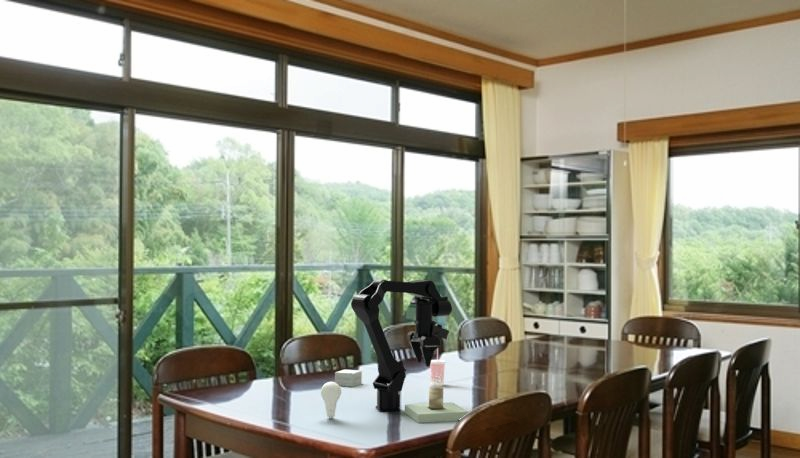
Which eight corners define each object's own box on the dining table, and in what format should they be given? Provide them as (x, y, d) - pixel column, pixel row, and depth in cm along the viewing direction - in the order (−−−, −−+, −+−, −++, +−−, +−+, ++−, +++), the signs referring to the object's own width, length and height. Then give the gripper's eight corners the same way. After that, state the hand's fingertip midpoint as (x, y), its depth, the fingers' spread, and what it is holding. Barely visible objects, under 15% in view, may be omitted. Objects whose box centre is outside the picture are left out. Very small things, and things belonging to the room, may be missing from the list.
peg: (431, 418, 227) (431, 389, 228) (426, 415, 232) (426, 386, 232) (445, 417, 229) (445, 388, 229) (440, 414, 233) (440, 386, 233)
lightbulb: (317, 419, 224) (317, 382, 225) (326, 415, 230) (326, 379, 230) (335, 421, 222) (335, 384, 222) (344, 417, 228) (344, 380, 228)
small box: (343, 382, 288) (343, 369, 288) (362, 384, 285) (362, 370, 285) (334, 385, 281) (334, 372, 281) (352, 387, 278) (353, 373, 278)
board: (418, 422, 221) (418, 414, 221) (404, 412, 235) (404, 404, 235) (468, 419, 226) (468, 411, 226) (452, 410, 239) (452, 402, 239)
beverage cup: (444, 386, 280) (444, 348, 281) (428, 385, 282) (428, 348, 282) (446, 383, 286) (446, 346, 287) (430, 382, 288) (430, 346, 288)
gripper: (456, 319, 243) (456, 367, 243) (437, 314, 261) (437, 359, 260) (423, 320, 240) (423, 369, 239) (407, 315, 258) (406, 360, 257)
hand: (423, 364), depth 249 cm, fingers open, 9 cm apart
